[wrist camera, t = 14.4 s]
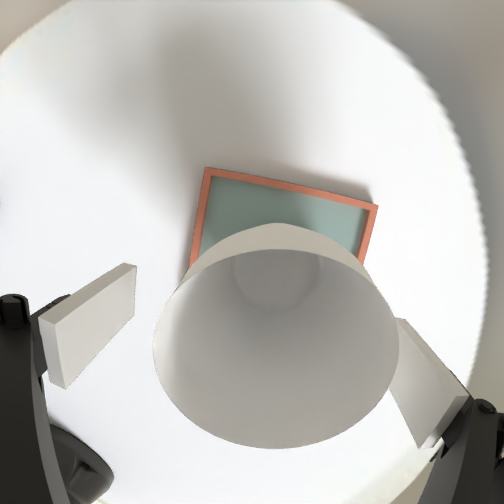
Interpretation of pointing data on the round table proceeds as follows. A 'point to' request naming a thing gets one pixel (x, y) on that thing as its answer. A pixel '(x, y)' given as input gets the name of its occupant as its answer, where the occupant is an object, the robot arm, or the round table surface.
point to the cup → (276, 339)
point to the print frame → (277, 211)
